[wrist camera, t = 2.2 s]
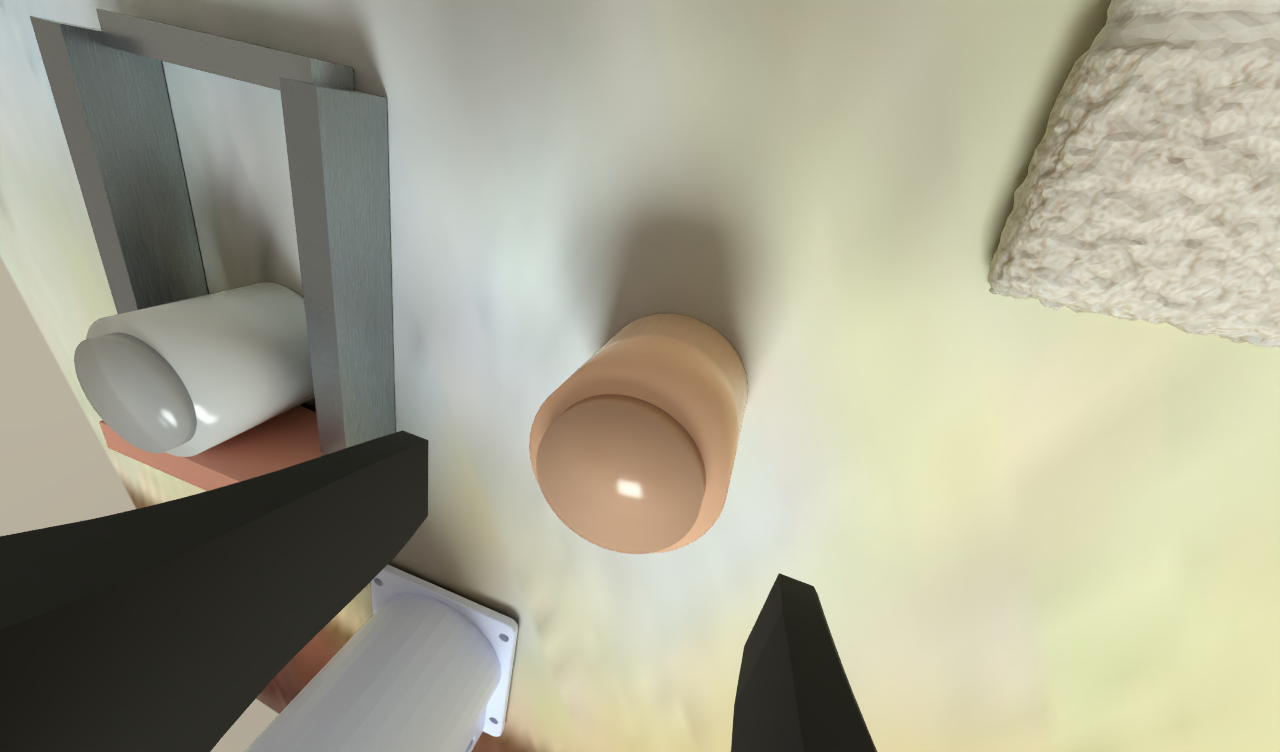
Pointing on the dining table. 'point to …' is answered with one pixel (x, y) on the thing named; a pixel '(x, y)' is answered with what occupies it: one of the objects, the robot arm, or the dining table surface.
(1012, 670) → the dining table surface
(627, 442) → the terracotta jar
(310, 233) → the grey tray
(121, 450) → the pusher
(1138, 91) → the washcloth
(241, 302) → the grey jar
